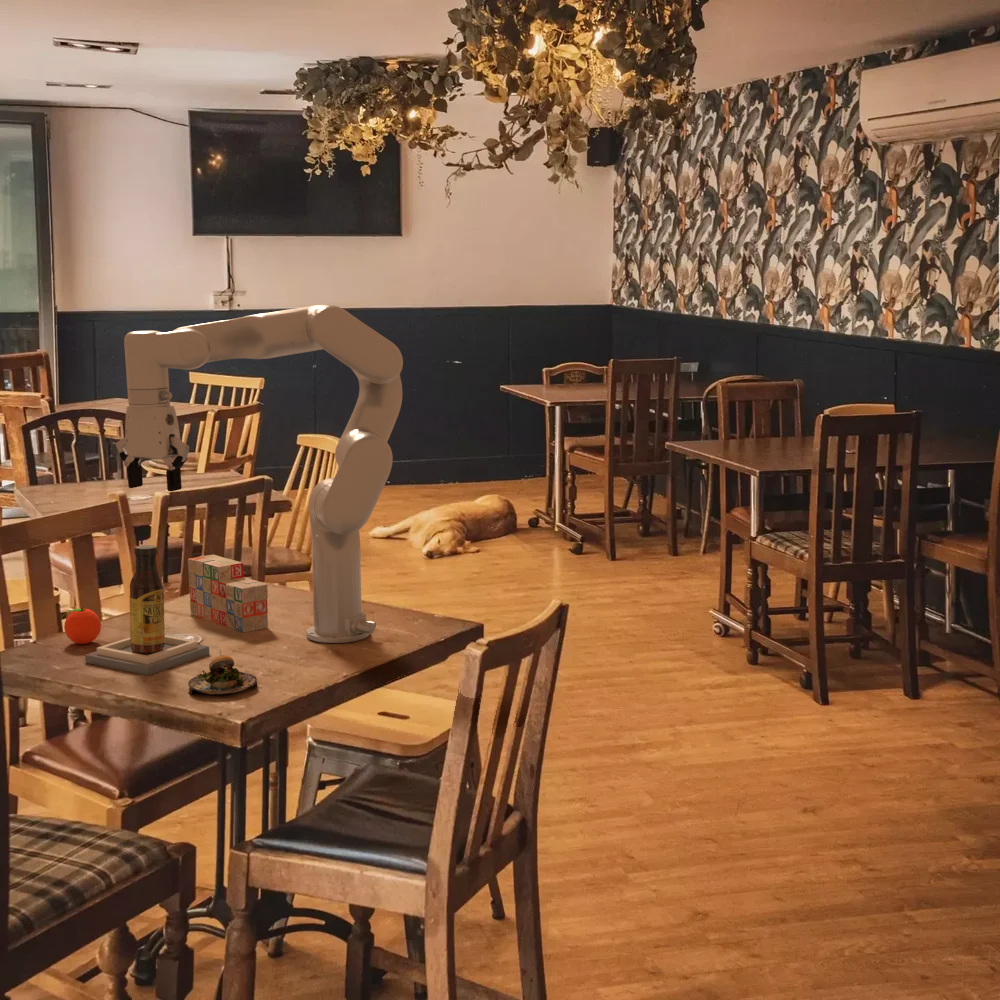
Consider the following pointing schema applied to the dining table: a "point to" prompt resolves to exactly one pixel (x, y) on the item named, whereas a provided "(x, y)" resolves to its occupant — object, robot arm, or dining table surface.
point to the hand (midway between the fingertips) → (155, 488)
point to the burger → (222, 678)
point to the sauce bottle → (146, 603)
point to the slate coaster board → (147, 655)
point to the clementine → (82, 626)
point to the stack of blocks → (226, 594)
